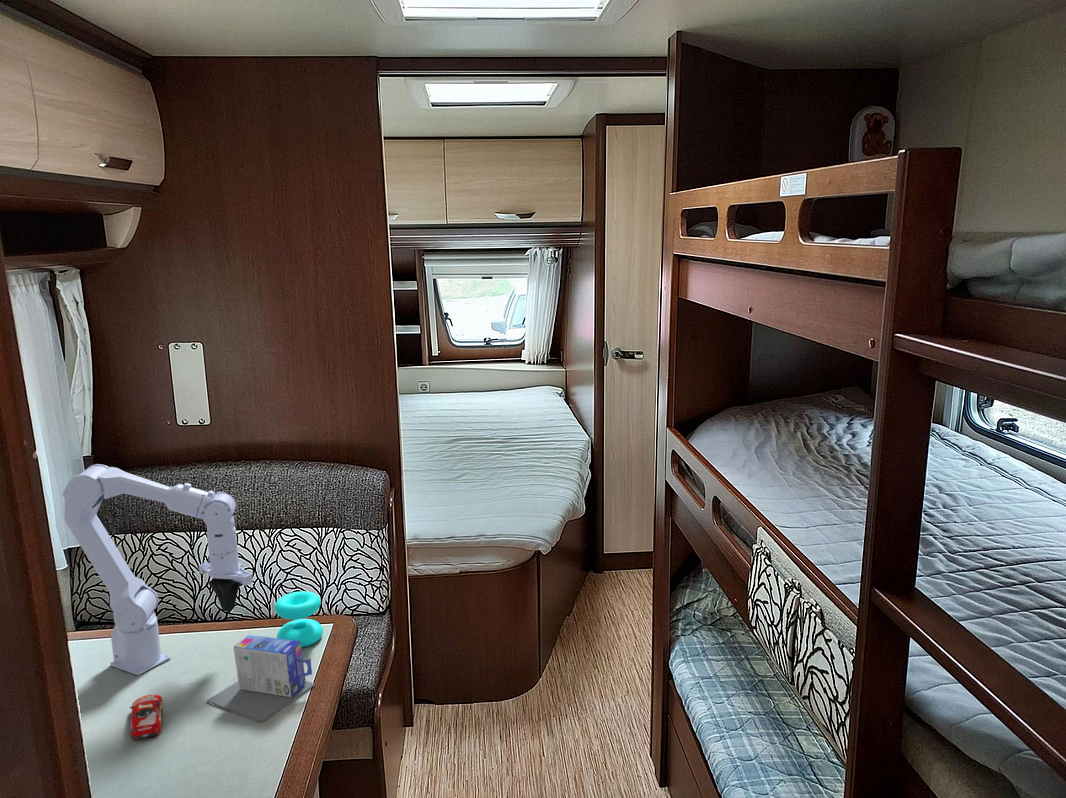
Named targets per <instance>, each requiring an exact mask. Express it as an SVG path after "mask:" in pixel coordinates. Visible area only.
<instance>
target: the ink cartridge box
mask: <svg viewBox="0 0 1066 798" xmlns="http://www.w3.org/2000/svg"><path fill="white" fill-rule="evenodd" d="M302 650H303V649H302V647H301V642H300V641H295V640H286V639H278V638H277V637H268V636H260V635H255V634H254V635H252V634H248V635H246V636H245V637H244V638H242V639H241V640H240V641H239V642H237V643H236V644H235V645H234V646H233V654H234V661H235V666H236V676H237V679H238V680H237V682H239V688H240V689H242V690H248V691H254V692H260V693H267V694H273V695H279V696H285V697H291V698H292V697H293V696H294V695H295V694H296V693H297V692H298V691H299V690H300V689H301V688H302V687H303V686H304V684H305V683H306V681H307V679H306V677H308V676H311V675H313V669H312V661H311V658H303V652H302ZM304 663H306V666H307V669H306V672H305V666H304Z"/></svg>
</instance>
